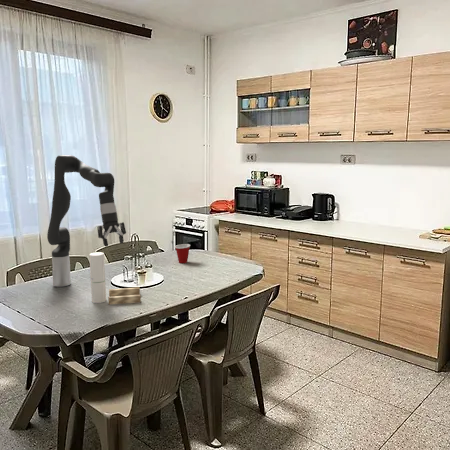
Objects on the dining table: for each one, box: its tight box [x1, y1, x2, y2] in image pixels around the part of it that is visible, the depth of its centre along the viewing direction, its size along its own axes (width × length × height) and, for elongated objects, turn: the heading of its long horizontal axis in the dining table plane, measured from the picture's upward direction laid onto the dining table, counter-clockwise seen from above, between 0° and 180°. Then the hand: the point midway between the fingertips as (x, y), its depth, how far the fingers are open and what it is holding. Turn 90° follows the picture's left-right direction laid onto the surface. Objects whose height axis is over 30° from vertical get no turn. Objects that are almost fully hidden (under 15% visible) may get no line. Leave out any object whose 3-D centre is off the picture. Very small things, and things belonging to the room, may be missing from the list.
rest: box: [107, 286, 142, 305], centre depth 232 cm, size 16×14×4 cm
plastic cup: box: [174, 243, 191, 264], centre depth 303 cm, size 11×11×12 cm
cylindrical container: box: [88, 251, 107, 304], centre depth 227 cm, size 7×7×25 cm
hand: (114, 244), depth 221 cm, fingers open, 8 cm apart
